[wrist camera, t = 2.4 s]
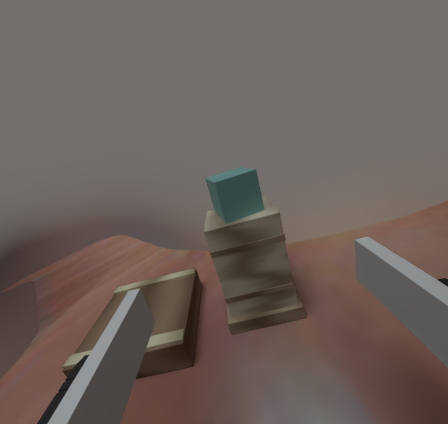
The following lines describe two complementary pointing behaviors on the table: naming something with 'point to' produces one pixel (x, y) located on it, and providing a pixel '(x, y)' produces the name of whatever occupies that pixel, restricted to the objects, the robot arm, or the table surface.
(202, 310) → the table surface
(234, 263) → the wooden block tower
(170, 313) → the dock
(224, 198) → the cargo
